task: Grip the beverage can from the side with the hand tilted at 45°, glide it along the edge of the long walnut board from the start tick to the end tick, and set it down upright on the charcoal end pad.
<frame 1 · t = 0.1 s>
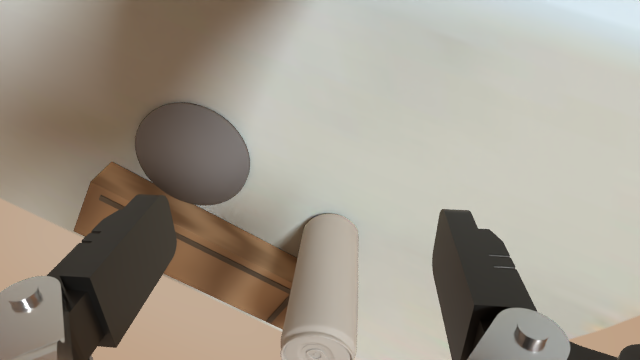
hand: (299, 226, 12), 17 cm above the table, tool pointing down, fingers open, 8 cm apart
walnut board: (228, 249, 37), on the table
end pad: (193, 156, 32), on the table
beverage can: (331, 230, 35), on the table
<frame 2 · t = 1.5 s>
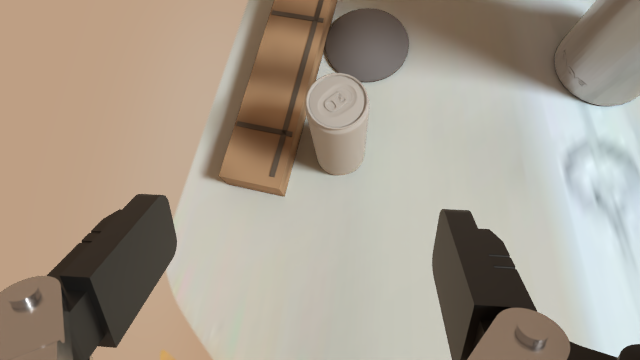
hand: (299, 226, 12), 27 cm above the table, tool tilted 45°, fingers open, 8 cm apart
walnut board: (286, 85, 43), on the table
end pad: (366, 45, 44), on the table
beverage can: (340, 155, 41), on the table
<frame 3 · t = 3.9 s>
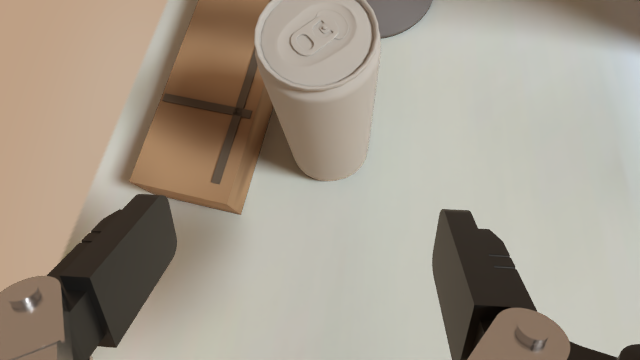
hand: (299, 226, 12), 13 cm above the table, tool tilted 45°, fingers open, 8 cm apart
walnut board: (249, 44, 28), on the table
beverage can: (330, 150, 26), on the table
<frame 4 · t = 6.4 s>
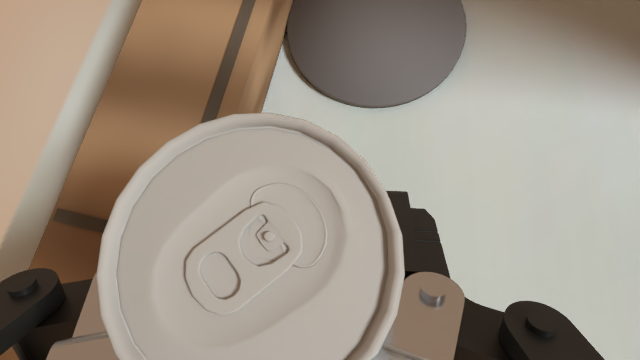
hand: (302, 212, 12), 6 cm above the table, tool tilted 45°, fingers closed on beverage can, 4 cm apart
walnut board: (200, 113, 20), on the table
end pad: (374, 28, 21), on the table
beverage can: (314, 280, 18), on the table, touching gripper
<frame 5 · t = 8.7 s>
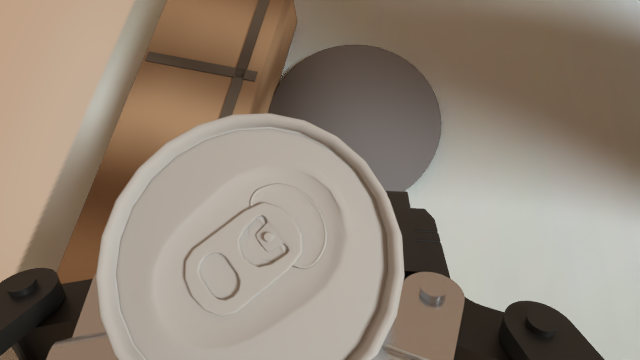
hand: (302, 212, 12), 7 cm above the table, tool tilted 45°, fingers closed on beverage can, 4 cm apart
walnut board: (182, 208, 20), on the table
end pad: (352, 123, 21), on the table
beverage can: (314, 280, 18), point 2 cm above the table, touching gripper
when the fingers open (7 cm above the table, at t = 11.4 s): beverage can stays where it is, resting on end pad.
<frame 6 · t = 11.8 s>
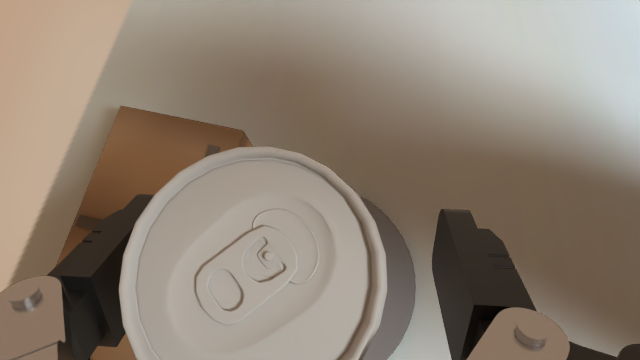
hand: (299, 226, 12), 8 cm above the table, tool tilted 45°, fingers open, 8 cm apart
end pad: (316, 281, 19), on the table
beverage can: (312, 285, 18), resting on end pad
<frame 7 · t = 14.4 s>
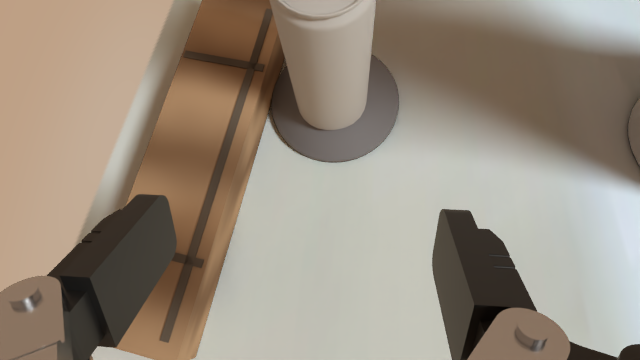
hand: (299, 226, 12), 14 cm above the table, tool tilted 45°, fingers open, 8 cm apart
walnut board: (209, 165, 28), on the table
end pad: (334, 102, 29), on the table
beverage can: (332, 104, 28), resting on end pad
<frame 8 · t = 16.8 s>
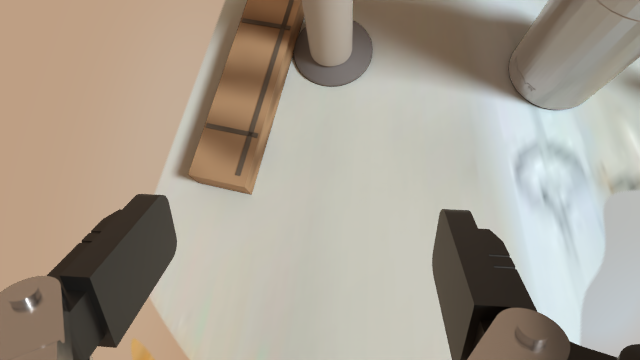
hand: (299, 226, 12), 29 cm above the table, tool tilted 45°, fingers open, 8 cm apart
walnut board: (256, 89, 45), on the table
end pad: (333, 51, 46), on the table
beverage can: (331, 52, 46), resting on end pad
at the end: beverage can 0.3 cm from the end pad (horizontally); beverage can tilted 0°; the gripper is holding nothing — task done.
